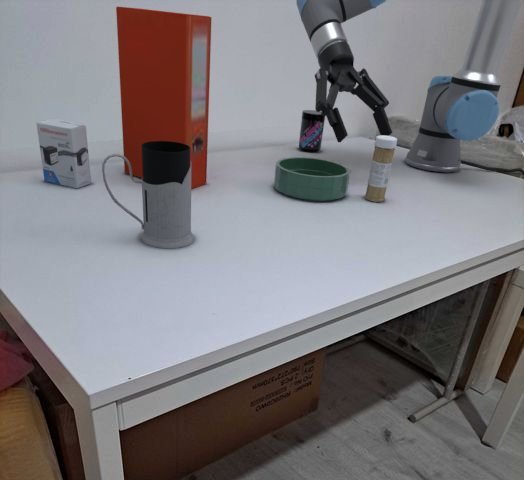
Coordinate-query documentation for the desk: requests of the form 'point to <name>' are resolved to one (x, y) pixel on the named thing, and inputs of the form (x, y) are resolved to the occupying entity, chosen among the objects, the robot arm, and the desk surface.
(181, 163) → the glass holder
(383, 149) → the sprinkles bottle
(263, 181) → the desk surface
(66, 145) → the ink box
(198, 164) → the file binder
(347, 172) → the bowl
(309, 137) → the supplement container
